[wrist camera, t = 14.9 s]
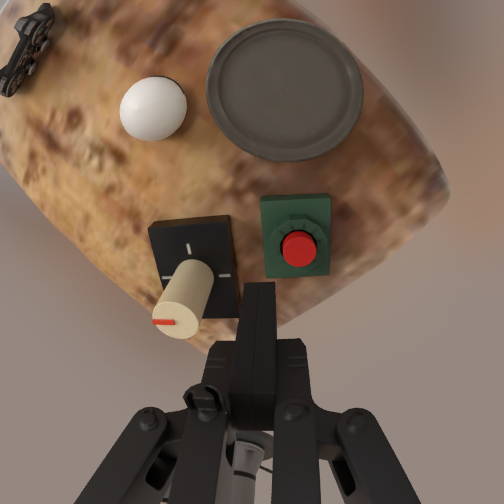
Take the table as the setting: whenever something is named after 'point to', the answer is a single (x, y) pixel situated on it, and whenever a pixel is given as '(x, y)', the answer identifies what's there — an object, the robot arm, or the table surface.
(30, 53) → the game controller
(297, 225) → the button box
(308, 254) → the red button
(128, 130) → the white sphere
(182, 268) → the dial
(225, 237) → the panel
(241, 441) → the robot arm
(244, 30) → the coffee can
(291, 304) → the table surface
